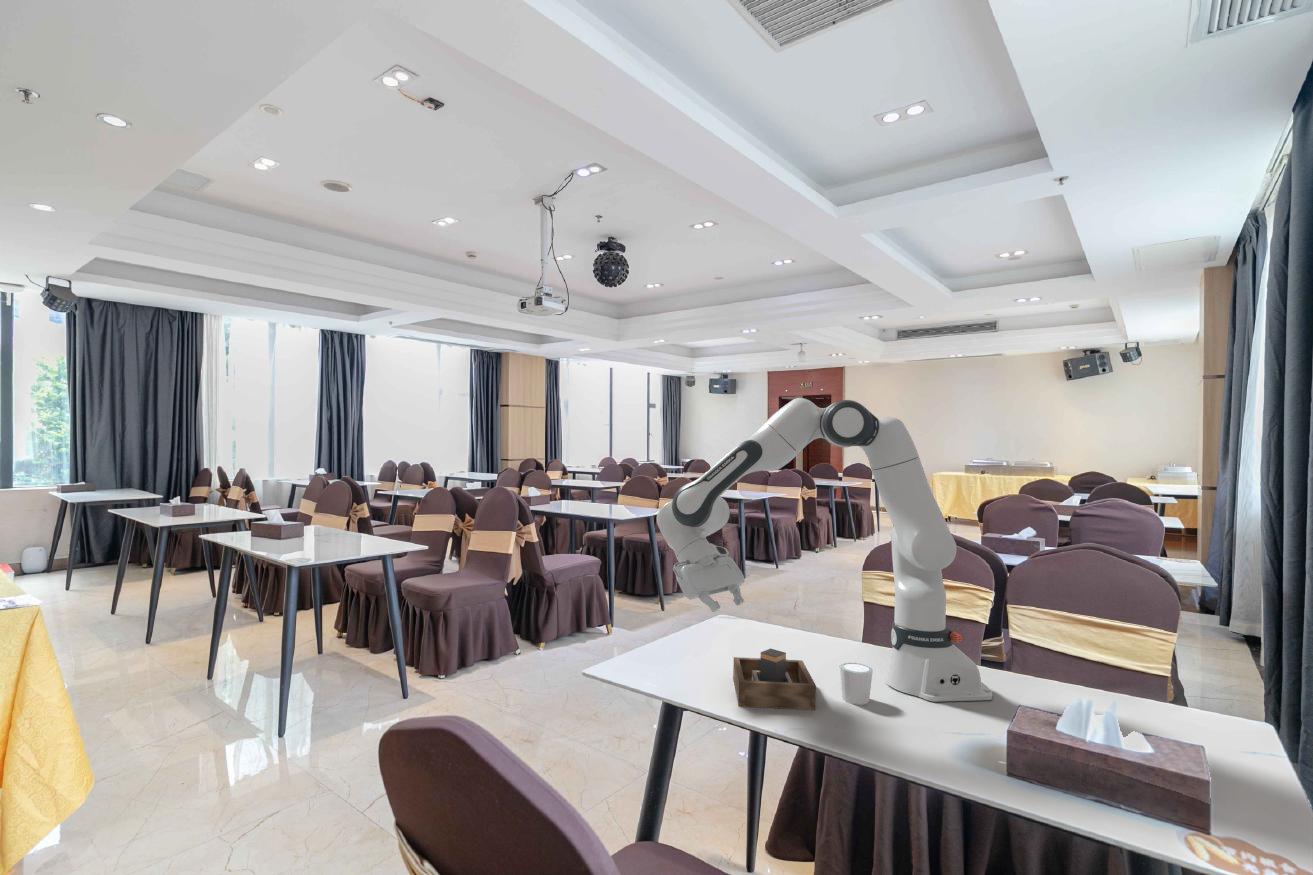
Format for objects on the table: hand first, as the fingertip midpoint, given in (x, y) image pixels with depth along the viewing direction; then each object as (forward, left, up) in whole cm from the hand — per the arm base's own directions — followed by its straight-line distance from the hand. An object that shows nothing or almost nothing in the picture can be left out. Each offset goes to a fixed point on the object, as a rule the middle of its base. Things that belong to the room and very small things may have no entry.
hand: (729, 606), depth 149 cm
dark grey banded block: (-10, +8, -16) cm, 20 cm away
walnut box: (-9, +8, -17) cm, 21 cm away
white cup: (-27, +9, -17) cm, 33 cm away
